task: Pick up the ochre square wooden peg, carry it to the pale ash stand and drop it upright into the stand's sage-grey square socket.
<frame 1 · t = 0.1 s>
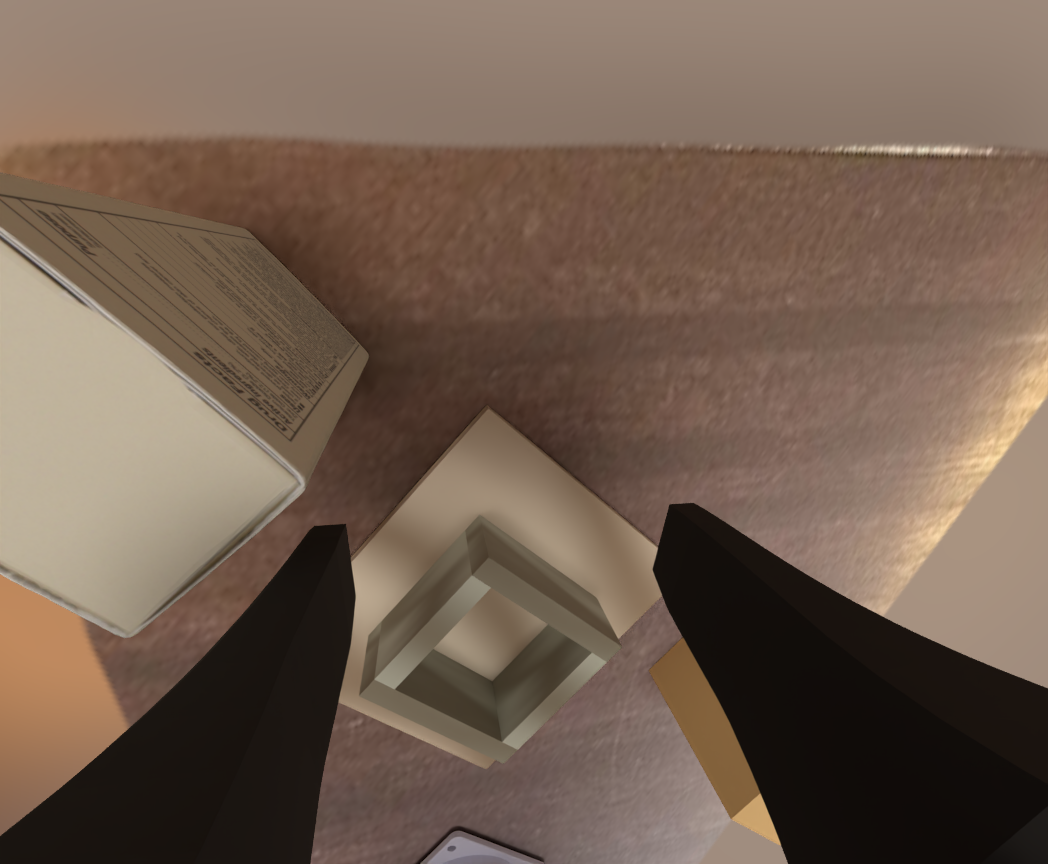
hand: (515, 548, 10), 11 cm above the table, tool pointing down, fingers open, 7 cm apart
skincare box: (278, 332, 18), on the table
socket stand: (485, 607, 24), on the table
peg: (693, 661, 28), on the table
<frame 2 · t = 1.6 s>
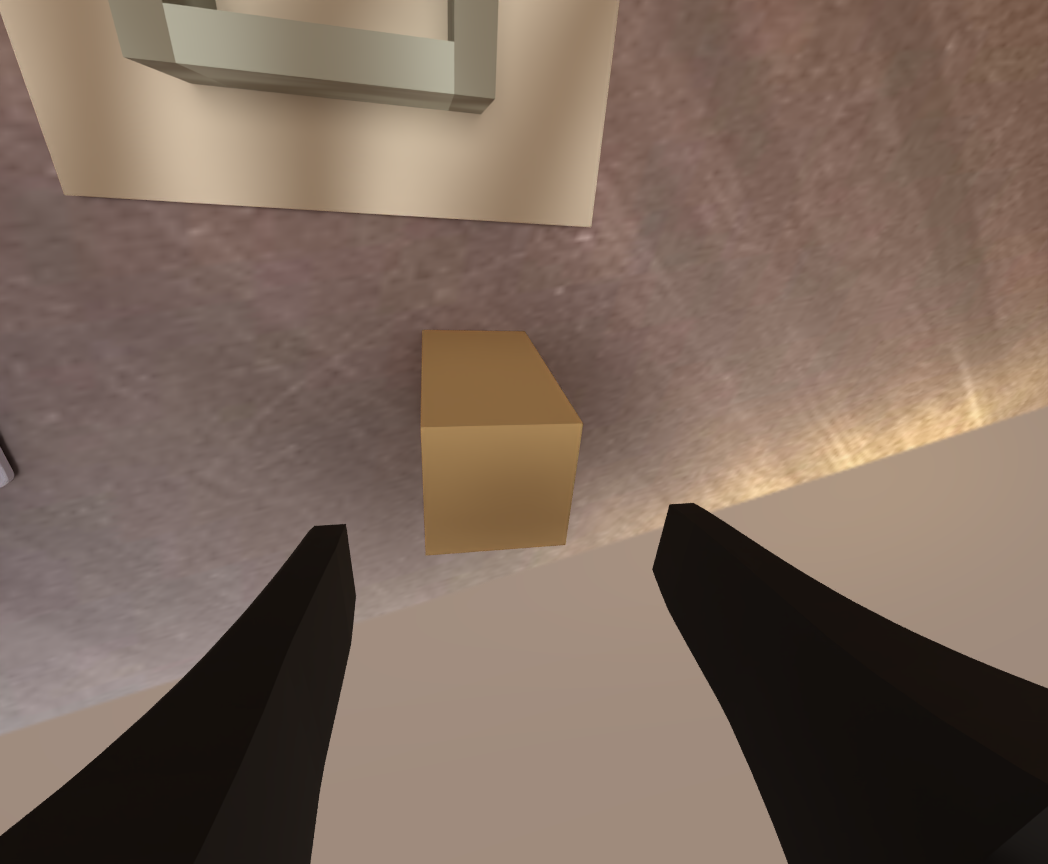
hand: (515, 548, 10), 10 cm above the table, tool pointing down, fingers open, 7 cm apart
peg: (473, 378, 19), on the table
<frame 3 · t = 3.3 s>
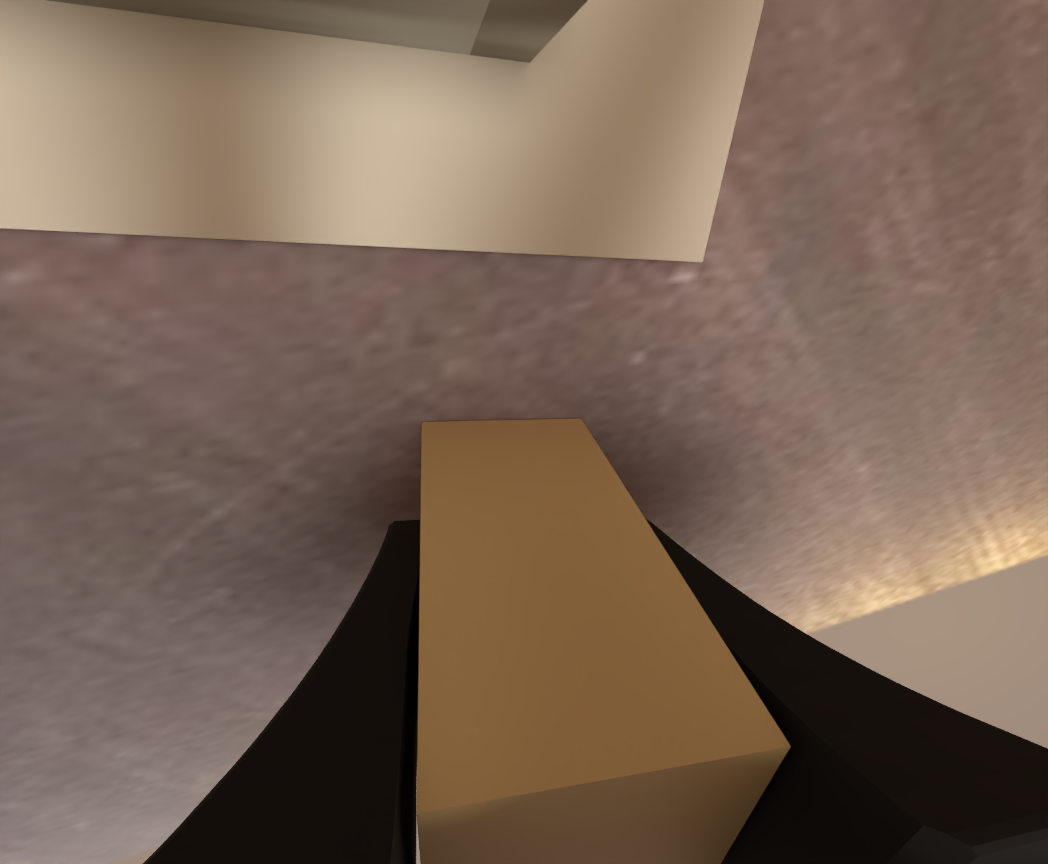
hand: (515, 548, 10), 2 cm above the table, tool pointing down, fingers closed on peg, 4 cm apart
peg: (500, 486, 13), on the table, touching gripper
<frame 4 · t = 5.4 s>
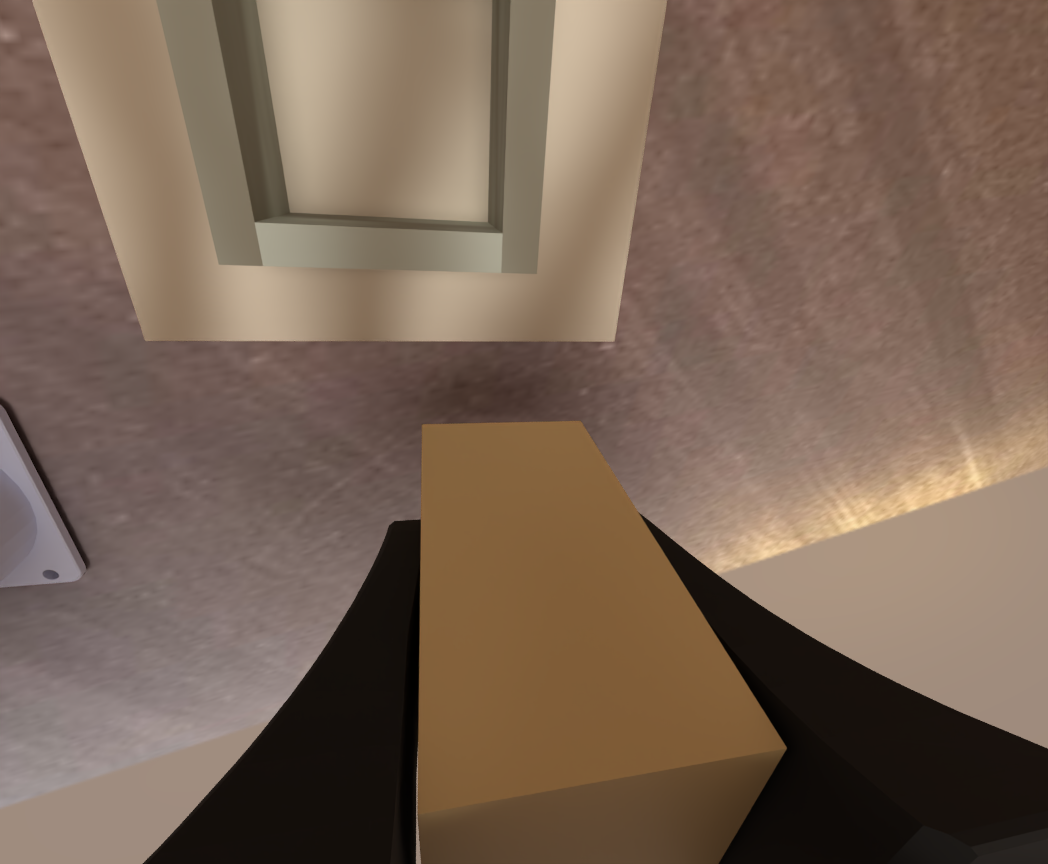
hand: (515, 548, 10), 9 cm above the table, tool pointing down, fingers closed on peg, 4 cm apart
socket stand: (386, 104, 14), on the table
peg: (500, 488, 13), point 7 cm above the table, touching gripper
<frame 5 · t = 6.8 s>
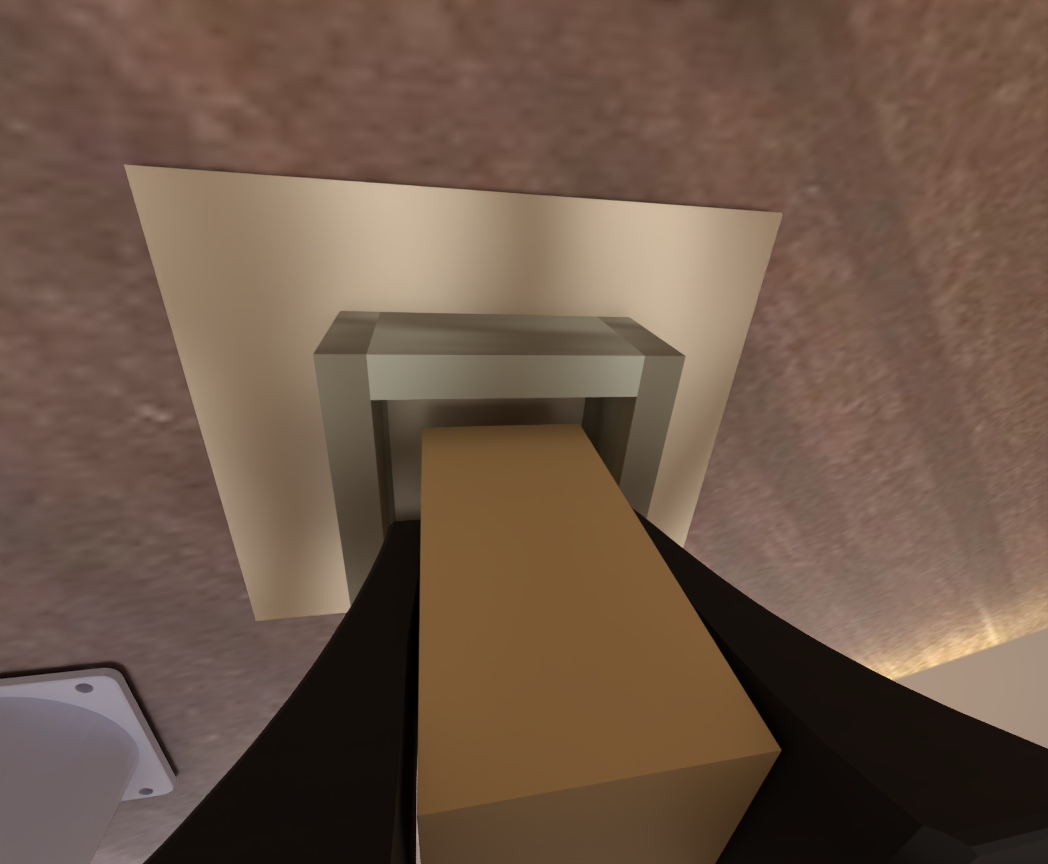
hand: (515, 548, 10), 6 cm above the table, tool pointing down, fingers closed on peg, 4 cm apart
socket stand: (486, 432, 15), on the table
peg: (499, 490, 13), point 3 cm above the table, touching gripper
when the fingers open (5 cm above the table, at t = 7.7 s): peg drops 2 cm, resting on socket stand.
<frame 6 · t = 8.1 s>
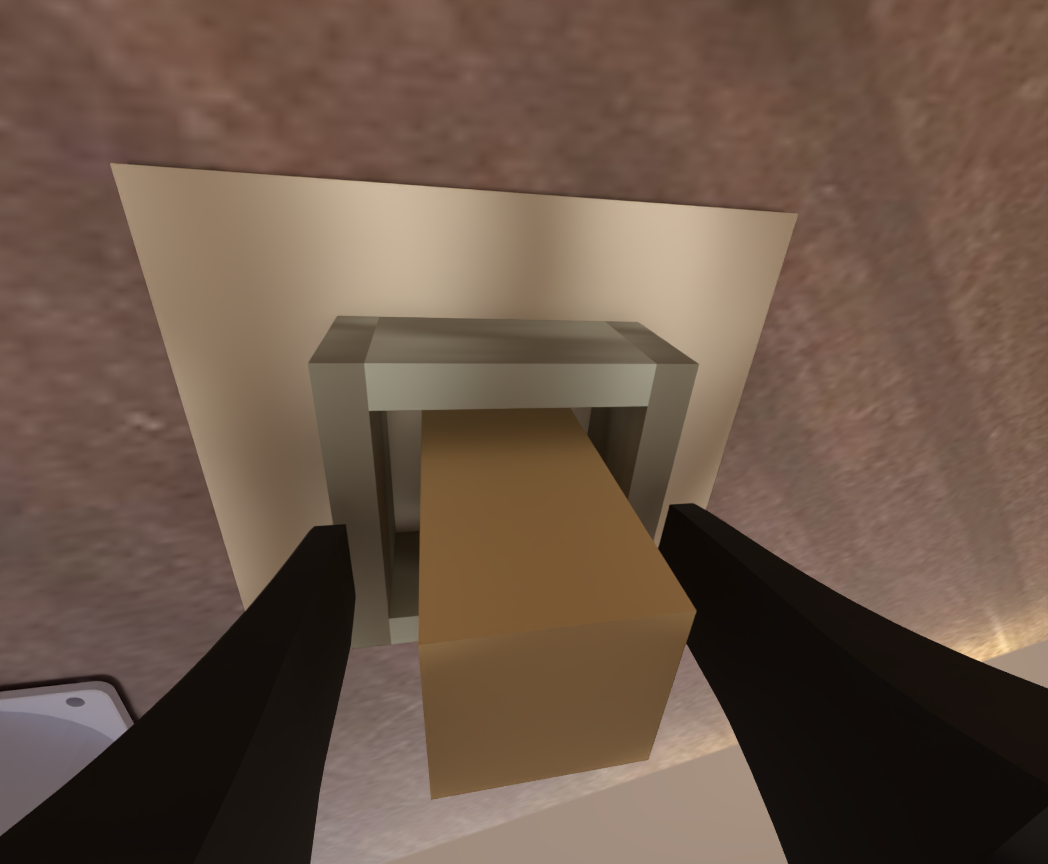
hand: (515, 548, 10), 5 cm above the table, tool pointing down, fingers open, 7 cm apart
socket stand: (489, 439, 15), on the table
peg: (491, 454, 14), point 1 cm above the table, touching socket stand
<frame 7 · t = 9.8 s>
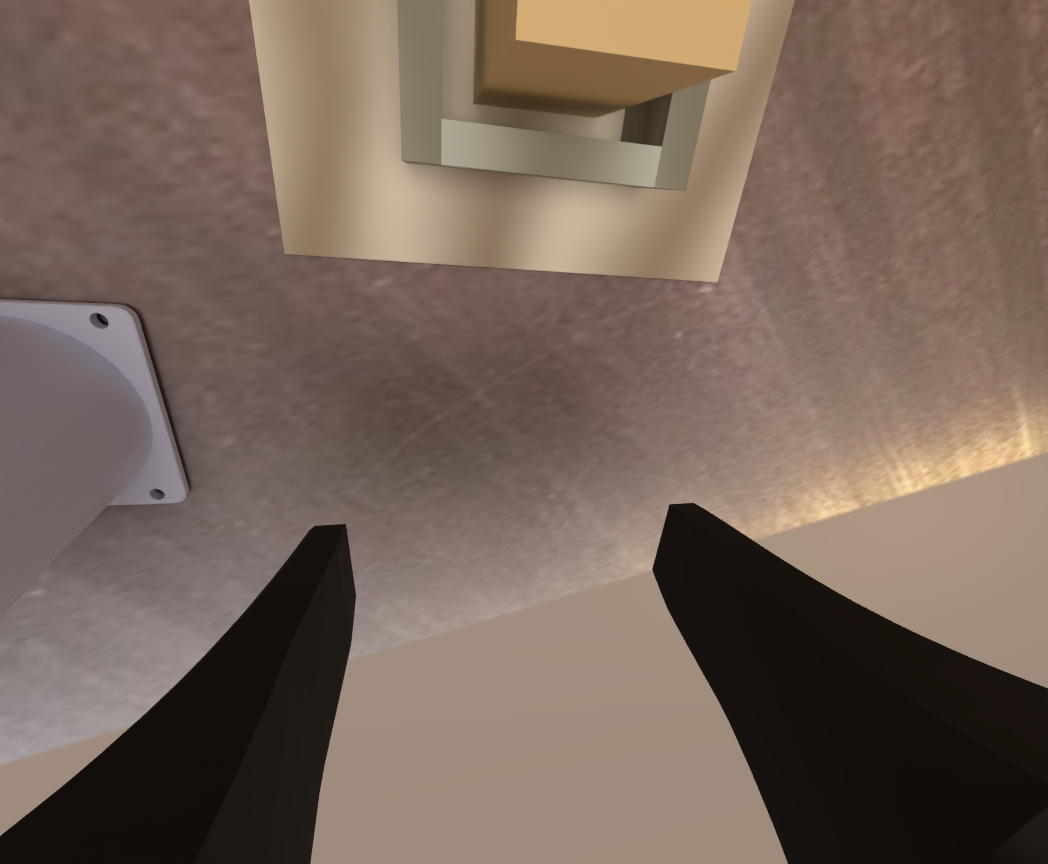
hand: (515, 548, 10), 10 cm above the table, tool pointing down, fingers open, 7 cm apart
socket stand: (537, 28, 14), on the table
peg: (541, 30, 14), point 1 cm above the table, touching socket stand
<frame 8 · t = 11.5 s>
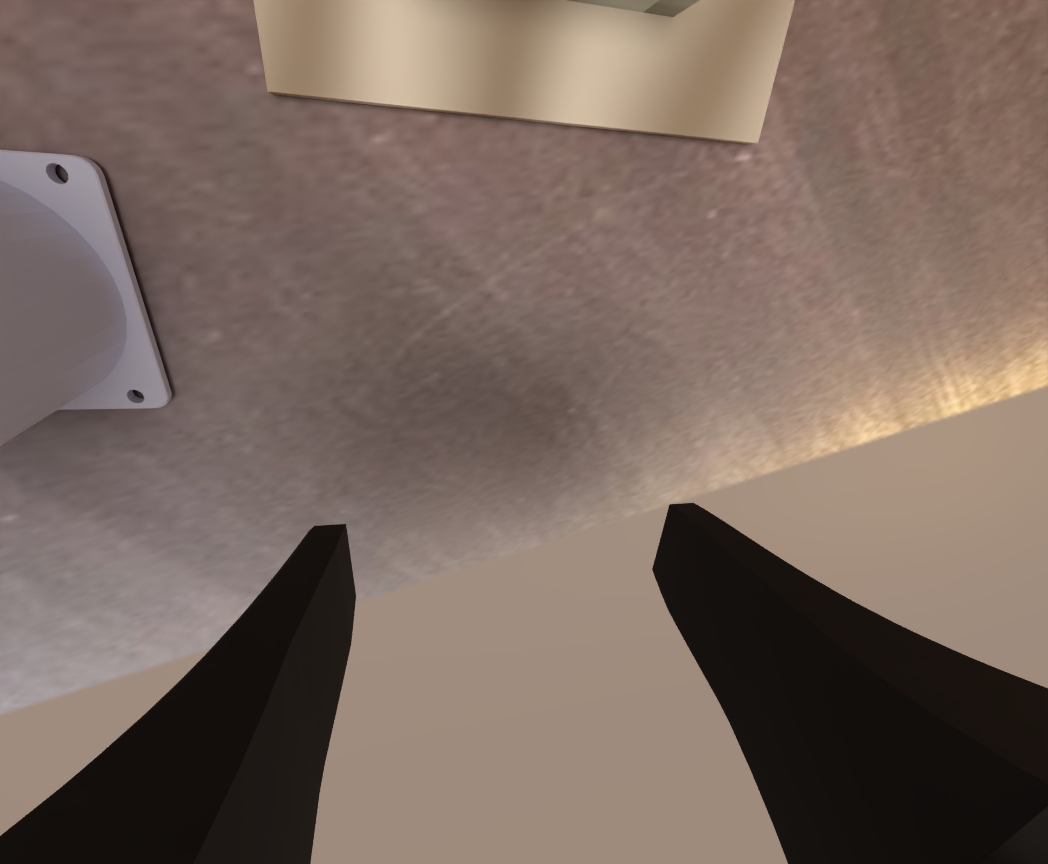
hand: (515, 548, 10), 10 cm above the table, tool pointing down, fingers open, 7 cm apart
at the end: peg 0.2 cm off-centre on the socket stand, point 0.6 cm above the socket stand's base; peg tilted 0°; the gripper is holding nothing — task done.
